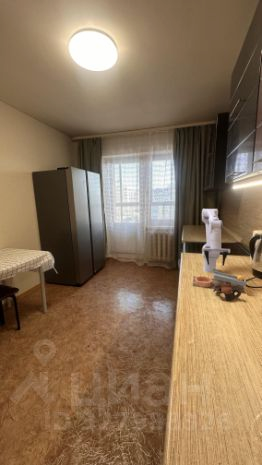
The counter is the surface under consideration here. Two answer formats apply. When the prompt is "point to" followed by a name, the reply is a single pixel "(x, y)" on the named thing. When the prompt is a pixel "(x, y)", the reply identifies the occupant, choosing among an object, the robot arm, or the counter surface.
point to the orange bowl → (203, 281)
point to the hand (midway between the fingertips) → (215, 265)
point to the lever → (228, 278)
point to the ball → (240, 278)
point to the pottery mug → (227, 292)
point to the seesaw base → (220, 282)
